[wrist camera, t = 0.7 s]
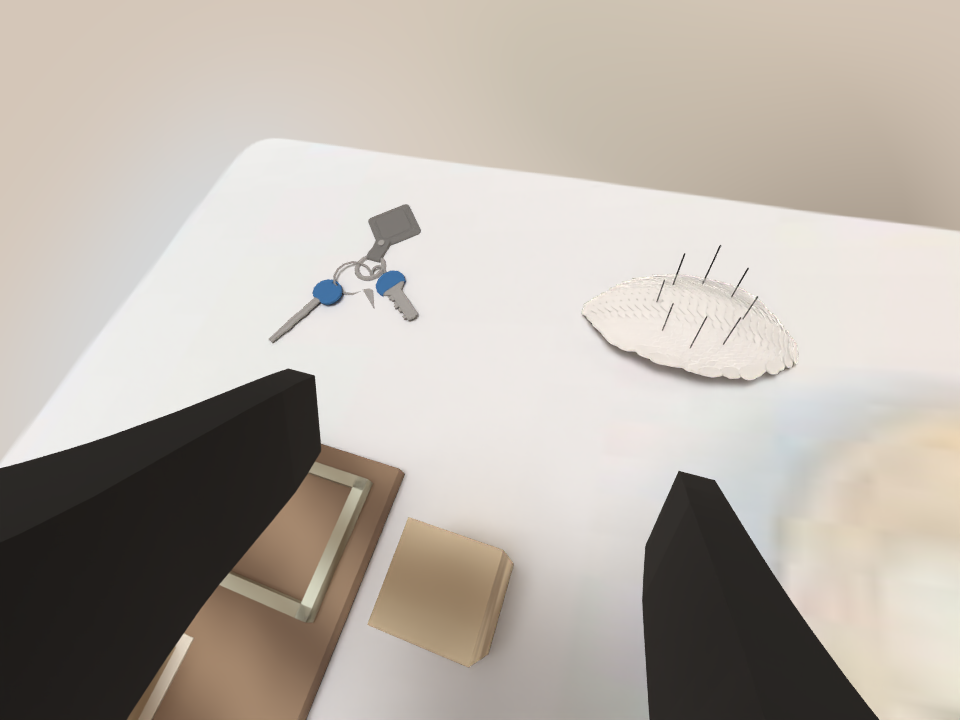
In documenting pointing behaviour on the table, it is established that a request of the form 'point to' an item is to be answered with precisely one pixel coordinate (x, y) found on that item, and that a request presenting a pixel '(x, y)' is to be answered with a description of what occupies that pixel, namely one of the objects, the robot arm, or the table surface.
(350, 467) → the board
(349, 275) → the table surface
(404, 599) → the maple peg
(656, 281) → the pincushion
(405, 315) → the key chain
